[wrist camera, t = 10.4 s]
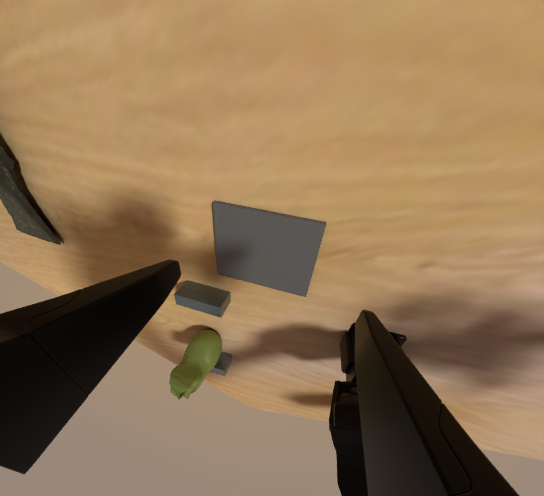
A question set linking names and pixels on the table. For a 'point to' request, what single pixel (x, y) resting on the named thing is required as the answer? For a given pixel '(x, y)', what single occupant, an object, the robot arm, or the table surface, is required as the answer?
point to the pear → (196, 363)
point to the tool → (20, 203)
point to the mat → (266, 247)
